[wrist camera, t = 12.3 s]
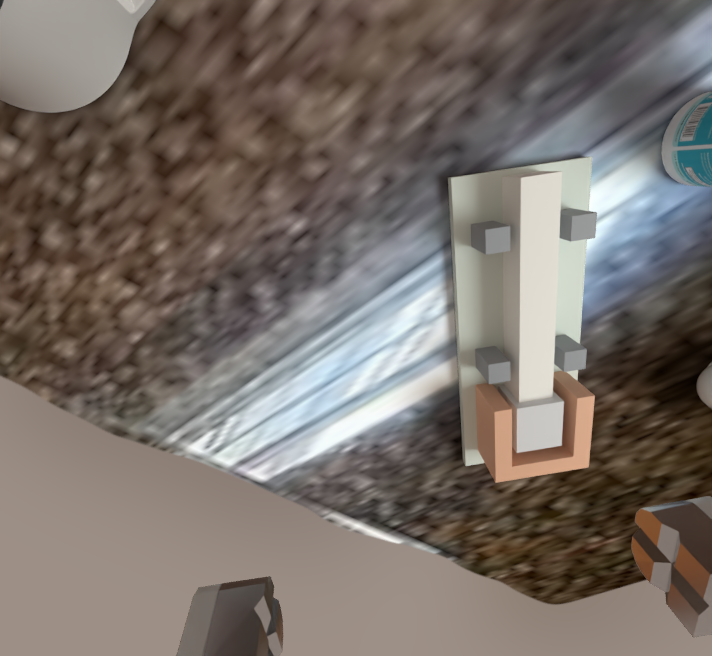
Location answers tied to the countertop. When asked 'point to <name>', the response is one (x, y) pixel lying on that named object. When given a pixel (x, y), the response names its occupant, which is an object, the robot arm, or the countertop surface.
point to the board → (485, 321)
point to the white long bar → (532, 307)
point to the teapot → (705, 386)
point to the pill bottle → (690, 143)
